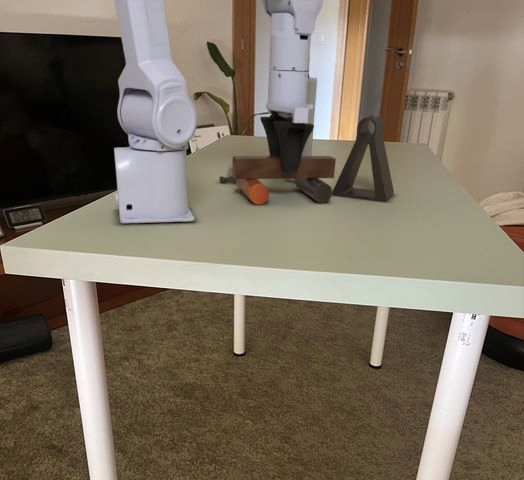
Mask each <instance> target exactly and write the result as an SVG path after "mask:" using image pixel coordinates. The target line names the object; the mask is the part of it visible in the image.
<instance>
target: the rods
mask: <svg viewBox="0 0 524 480" xmlns="http://www.w3.org/2000/svg"><path fill="white" fill-rule="evenodd" d="M235 184H236V186H237V188H238V189H239V190H240V191H241V192H242V193H243V194H244V195H245V196H246V197H247V198H248V199H249V200H250V201H251V202H252V203H253V204H255V205H258V206H259V205H263V204H265V203H266V202H267V201H268V200H269V198H270V190H269V188H268V187H267V186H266V185H265V184H264V183H262V182H261V181H260V179H236V183H235ZM294 185H295V187H296V188H297V189H298V190H300V191H301V192H303V193H304V194H305V195H307V196H308V197H310V198H311V199H313V200H314V201H315V202H317V203H319V204H325V203H327V202H328V201H330V199H331V197H332V196H333V194H332V192H333V190H332V186H330V184H328V183H327V182H325V181H323V180H321V178H301V179H295V182H294Z"/></svg>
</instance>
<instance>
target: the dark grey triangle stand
mask: <svg viewBox="0 0 524 480" xmlns="http://www.w3.org/2000/svg"><path fill="white" fill-rule="evenodd" d="M370 121H371V122H372V124H373V125H374V130H373V132H372V131H370V128H369V123H370ZM385 127H386V122H385V119H384V118H383V117H382V116H381V115H378V116H375V115H371V116H367V117H364V118H362V119H361V120H360V121H359V122H358V123H357V126H356V131H357V132H356V138H355V141H354V143H353V146H352V147H351V150H350V152H349V155H348V157H347V159H346V161H345V163H344V166H343V168H342V170H341V172H340V175H339V177H338V179H337V181H336V183H335V185H334V187H333V190H332V196H335V197H336V196H338V197H345V198H353V199H360V200H368V201H369V200H370V201H377V202H384V203H385V202H387V200H388V199H390V197H392V196H393V195H394V193H395V190H394V186H393V179H392V176H391V175H392V174H391V171H390V165H389V160H388V155H387V149H386V145H385V141H384V131H385ZM368 147H369V155H370V164H371V172H372V180H373V189H367V188H361V187H360V188H359V187H354V183H355V181H356V178H357V175H358V173H359V170H360V167H361V165H362V162H363V160H364V156H365V154H366V152H367V148H368Z"/></svg>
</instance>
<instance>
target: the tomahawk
mask: <svg viewBox="0 0 524 480" xmlns="http://www.w3.org/2000/svg"><path fill="white" fill-rule="evenodd" d="M232 169H233V166H232V167H231V170H230V174H229V176H227V177H224V176H223V175H222V176H221V175H220V176H219V182H223V183H224V182H229V183H230V182H231V183H235V184H236V179H235V178H234V177H233V176H232Z"/></svg>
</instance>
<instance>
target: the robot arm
mask: <svg viewBox="0 0 524 480" xmlns="http://www.w3.org/2000/svg"><path fill="white" fill-rule="evenodd" d="M164 1H165V0H114V3H115V11H116V17H117V22H118V28H119V33H120V37H121V38H120V39H121V43H122V49H123V54H124V59H125V66H124V68H123V69H122V72H121V74H120V76H119V78H118V79H117V84H118V89H119V90H118V91H119V99H118V105H117V111H116V112H117V119H118V122H119V125H120V127H121V129H122V130H123V132H124V133H125V134H126V135H127V138H128V144H129V146H125V147H119V146H118V147H114V148H113V152H114V164H115V165H114V167H115V176H116V188H117V192H114V196H115V197H114V198H115V207H117V208H118V213H119V221H120V223H121V224H145V223H147V224H148V223H149V224H151V223H180V222H181V223H182V222H183V223H184V222H185V223H186V222H195V217H194V214H193V212H192V211H191V209H190V207H189V205H188V204H189V200H188V198H189V197H188V163H187V162H188V161H187V150H188V149H189V143H190V141H191V140H192V139H193V137H194V136H195V133H196V131H197V127H198V113H197V110H196V106H195V105H194V103H193V101H192V99H191V97H190V94H189V92H188V87H187V81H186V78H185V77H184V76H183V74H182V72H181V71H180V70H179V69H178V67H177V66H176V64H175V63H174V61H173V58H172V52H171V51H172V50H171V45H170V36H169V29H168V23H167V16H166V15H167V14H166V7H165V2H164ZM323 3H324V0H262V6H263V10H264V12H265V14H266V15H268V16H269V17H270V20H271V21H270V41H269V42H270V43H269V63H268V64H269V65H268V67H269V68H268V87H267V88H268V89H267V90H268V91H267V102H266V110H267V113H268V114H269V116H260V119H259V120H260V122H261V124H262V127H263V129H264V132H265V136H266V141H267V146H268V153H269V156H281V166H282V171H283V172H297V169H298V166H299V163H300V159H301V156H302V152H303V149H304V146H305V144H306V142H307V139H308V137H309V136H310V134H311V132H312V131H313V132H314V128H315V124H314V125H313V124H304V123H308V112H309V110H313V109H314V105H312V104H306V101H307V86H308V71H309V72H310V62H309V58H310V59H311V43H312V41H311V40H312V35H313V33H314V31H315V30H316V21H317V17H318V15H319V14H320V13H321V11H322V7H323Z"/></svg>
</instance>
